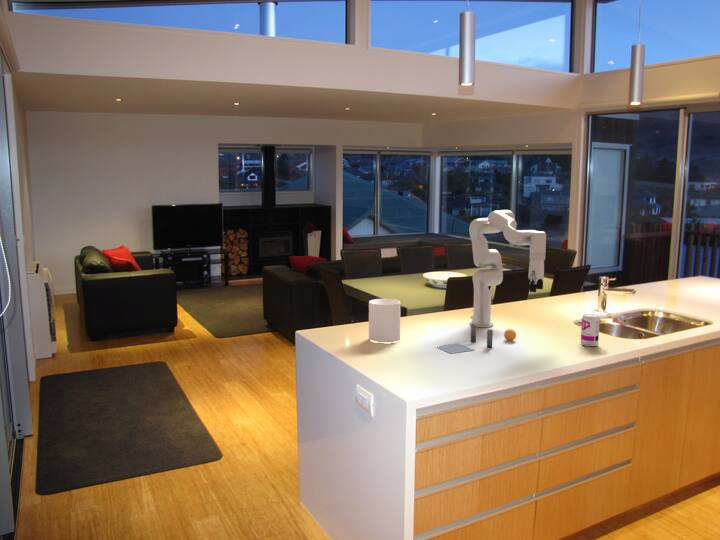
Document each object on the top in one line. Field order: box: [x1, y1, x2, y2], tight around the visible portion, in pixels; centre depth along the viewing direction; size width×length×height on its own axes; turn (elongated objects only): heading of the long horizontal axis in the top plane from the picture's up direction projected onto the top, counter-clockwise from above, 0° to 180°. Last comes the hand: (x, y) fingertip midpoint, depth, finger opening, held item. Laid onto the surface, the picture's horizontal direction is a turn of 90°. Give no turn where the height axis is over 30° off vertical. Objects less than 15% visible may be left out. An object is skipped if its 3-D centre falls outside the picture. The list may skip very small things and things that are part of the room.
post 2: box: [486, 328, 494, 349], centre depth 306 cm, size 3×3×9 cm
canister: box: [368, 298, 402, 342], centre depth 320 cm, size 16×16×20 cm
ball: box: [503, 328, 517, 342], centre depth 320 cm, size 6×6×6 cm
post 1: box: [470, 324, 477, 343], centre depth 318 cm, size 3×3×9 cm
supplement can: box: [580, 313, 601, 347], centre depth 312 cm, size 8×8×15 cm
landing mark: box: [436, 342, 475, 355], centre depth 306 cm, size 14×14×1 cm
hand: (536, 290), depth 313 cm, fingers open, 9 cm apart
